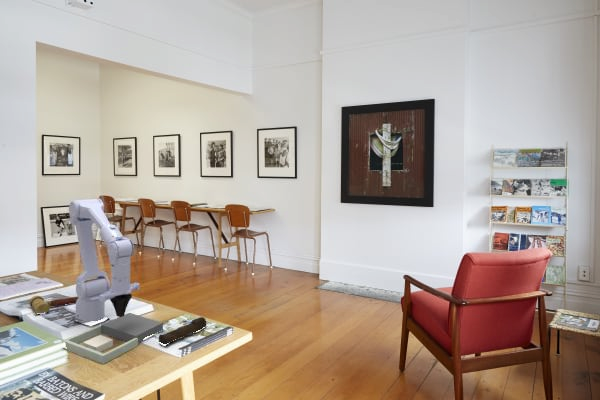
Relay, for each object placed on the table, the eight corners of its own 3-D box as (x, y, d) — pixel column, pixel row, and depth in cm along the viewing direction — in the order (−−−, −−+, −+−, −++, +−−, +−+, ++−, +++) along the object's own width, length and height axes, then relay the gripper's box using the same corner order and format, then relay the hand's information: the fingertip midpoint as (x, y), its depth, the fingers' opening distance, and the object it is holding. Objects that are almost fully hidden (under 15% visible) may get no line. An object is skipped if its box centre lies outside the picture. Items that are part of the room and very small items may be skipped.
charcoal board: (101, 333, 138) (100, 324, 138) (129, 320, 149) (129, 312, 148) (135, 344, 131) (135, 336, 131) (162, 330, 142) (162, 322, 142)
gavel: (88, 288, 170) (97, 295, 163) (87, 299, 170) (96, 307, 163) (29, 296, 155) (36, 304, 148) (28, 308, 155) (35, 316, 148)
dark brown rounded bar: (165, 349, 130) (165, 335, 130) (157, 344, 133) (158, 331, 132) (210, 330, 146) (211, 318, 145) (203, 326, 148) (204, 314, 147)
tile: (100, 334, 132) (100, 342, 133) (83, 342, 127) (83, 349, 127) (112, 339, 130) (112, 347, 130) (96, 347, 124) (96, 355, 125)
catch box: (62, 348, 127) (62, 340, 126) (98, 332, 138) (98, 325, 138) (103, 364, 119) (103, 355, 119) (138, 345, 131) (138, 338, 131)
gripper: (110, 284, 125) (110, 326, 126) (146, 272, 138) (146, 311, 140) (94, 280, 128) (94, 321, 129) (131, 269, 141) (131, 306, 142)
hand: (120, 315), depth 135 cm, fingers closed
